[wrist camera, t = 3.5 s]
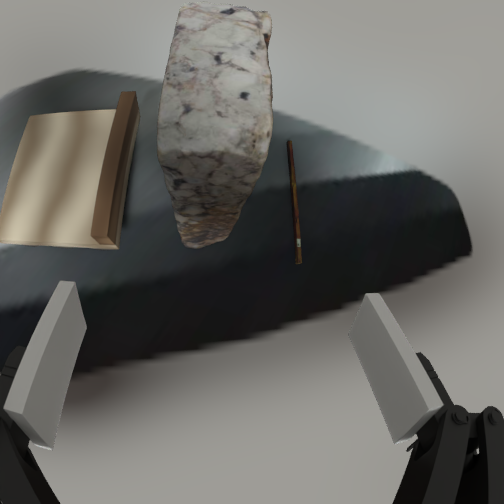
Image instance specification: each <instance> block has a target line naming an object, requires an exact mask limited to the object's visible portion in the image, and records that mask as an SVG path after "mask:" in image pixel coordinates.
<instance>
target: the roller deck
mask: <svg viewBox="0 0 504 504" xmlns="http://www.w3.org/2000/svg"><path fill="white" fill-rule="evenodd" d="M139 121H140V113H139V107H138V102H137V96H136V91H132V92H121V95H120V98H119V102H118V105H117V109H112V110H89V111H74V112H61V113H51V114H41V115H33V116H30V117H29V120H28V123H27V125H26V128H25V131H24V133H23V136H22V139H21V142H20V145H19V148H18V151H17V154H16V157H15V160H14V163H13V167H12V170H11V174H10V177H9V181H8V184H7V188H6V192H5V196H4V200H3V205H2V209H1V214H0V242H1V243H4V244H21V245H25V246H32V247H36V246H39V245H43V246H55V247H59V248H73V247H84V248H92V249H97V250H112V249H119V244H120V235H121V226H122V218H123V210H124V203H125V196H126V190H127V183H128V177H129V171H130V166H131V160H132V155H133V150H134V144H135V139H136V135H137V130H138V125H139Z"/></svg>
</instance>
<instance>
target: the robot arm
mask: <svg viewBox="0 0 504 504" xmlns="http://www.w3.org/2000/svg"><path fill="white" fill-rule="evenodd" d="M86 328H87V327H86V323H85V320H84V316H83V312H82V308H81V305H80V301H79V296H78V292H77V288H76V284H75V282H69V281H60V282H59V284H58V286H57V287H56V289H55V291H54V293H53V295H52V297H51V299H50V301H49V303H48V305H47V307H46V308H45V310H44V312H43V315H42V317H41V319H40V321H39V323H38V325H37V327H36V329H35V331H34V333H33V335H32V338H31V340H30V342H29V344H28V347H27V348H26V347H21V346H17V347H16V348H15V349H14V350H13V351H12V352H11V353H10V354H9V356H8V359H7V361H6V363H5V367H4V368H3V370H2V372H1V376H0V504H60V502H59V501H58V499H57V497H56V496H55V494H54V493H53V491H52V489H51V487H50V486H49V484H48V482H47V480H46V479H45V477H44V475H43V473H42V472H41V470H40V468H39V466H38V464H37V462H36V460H35V458H34V456H33V454H32V452H31V450H30V449H29V447H28V444H29V440H31V441H32V442H33V444H34V445H35V446H38V447H42V448H45V449H49V450H53V447H54V442H55V437H56V433H57V428H58V424H59V420H60V415H61V411H62V407H63V404H64V400H65V396H66V392H67V389H68V385H69V382H70V378H71V375H72V371H73V368H74V365H75V361H76V358H77V355H78V352H79V349H80V346H81V343H82V340H83V337H84V334H85V331H86ZM348 336H349V338H350V340H351V342H352V344H353V347H354V349H355V351H356V353H357V356H358V358H359V360H360V363H361V365H362V367H363V369H364V372H365V374H366V376H367V379H368V381H369V383H370V386H371V388H372V391H373V393H374V395H375V398H376V400H377V402H378V405H379V407H380V410H381V412H382V414H383V417H384V419H385V422H386V424H387V427H388V429H389V432H390V434H391V437H392V439H393V442H394V444H397V443H401V442H404V441H408V440H409V439H410V438H411V437H412V436H414V434H417V436H418V439H417V440H416V441H415V442H414V443H413V444H411V445H410V446H409V447H408V448H407V450H406V451H407V452H408V451H410V450H411V449H412V448H413V450H412V452H411V456H410V459H409V462H408V465H407V468H406V471H405V474H404V476H403V479H402V481H401V484H400V487H399V489H398V492H397V494H396V496H395V499H394V501H393V504H504V419H503V416H502V414H501V412H500V411H499V410H498V409H497V408H495V407H493V406H488V407H487V408H485V409H484V410H483V411H482V412H481V413H468V412H467V411H466V409H465V408H463V407H462V406H459V405H454V404H453V402H452V401H451V399H450V397H449V395H448V393H447V392H446V390H445V388H444V386H443V384H442V382H441V381H440V379H439V378H438V375H437V374H436V372H435V371H434V369H433V367H432V365H431V363H430V361H429V360H428V359H427V358H426V357H425V356H424V355H423V354H422V353H421V352H420V353H415V352H414V350H413V348H412V347H411V345H410V343H409V341H408V340H407V338H406V336H405V335H404V333H403V331H402V330H401V328H400V326H399V325H398V323H397V322H396V320H395V319H394V317H393V315H392V313H391V312H390V310H389V309H388V307H387V305H386V304H385V302H384V300H383V299H382V297H381V296H380V294H379V293H366V294H365V296H364V299H363V301H362V304H361V306H360V308H359V311H358V313H357V315H356V318H355V320H354V322H353V324H352V327H351V329H350V331H349V333H348ZM478 448H479V454H477V452H476V449H478ZM1 501H2V503H1Z"/></svg>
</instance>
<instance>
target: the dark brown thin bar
mask: <svg viewBox="0 0 504 504" xmlns="http://www.w3.org/2000/svg"><path fill="white" fill-rule="evenodd" d="M287 152H288V163H289V174H290V185H291V198H292V212H293V224H294V239H295V255H296V264H301V263H302V257H301V242H300V227H299V214H298V202H297V190H296V179H295V169H294V159H293V149H292V141H288V142H287Z"/></svg>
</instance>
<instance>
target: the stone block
mask: <svg viewBox="0 0 504 504" xmlns="http://www.w3.org/2000/svg"><path fill="white" fill-rule="evenodd" d="M271 30H272V20H271V17H270V14H269V13H268V12H267V11H262V12H258V11H253V10H250V9H248V8H247V7H237V6H233V5H230V4H218V5H217V4H210V3H208V2H199V3H185V4H183V5H182V6H181V8H180V11H179V14H178V19H177V23H176V27H175V32H174V37H173V40H172V43H171V47H170V55H169V59H168V64H167V67H166V72H165V77H164V81H163V87H162V93H161V99H160V104H159V114H158V122H157V155H158V160H159V162H160V164H161V167H162V168H163V171H164V176H165V182H166V186H167V189H168V192H169V194H170V196H171V201H172V207H173V209H174V214H175V219H176V222H177V227H178V231H179V232H180V235H181V240H182V243H183V244H184V246H185V247H188V248H195V249H198V248H203V247H204V246H208V245H211V244H213V243H215V242H218V241H222V240H225V239H226V238H227V237H228V236H229V234H230V232H231V231H232V229H233V226H234V225H235V223H236V222H237V221H238V218H239V216H240V212H241V209H242V207H243V205H244V204H245V202H246V199H247V198H248V197H249V196H250V195H251V193H252V191H253V188H254V186H255V183H256V181H257V180H258V179H259V177H260V174H261V171H262V168H263V165H264V162H265V160H266V158H267V155H268V148H269V144H270V140H271V135H272V127H273V111H272V98H273V95H272V75H271V71H270V67H269V61H268V52H267V51H268V45H269V40H270V37H271Z"/></svg>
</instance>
